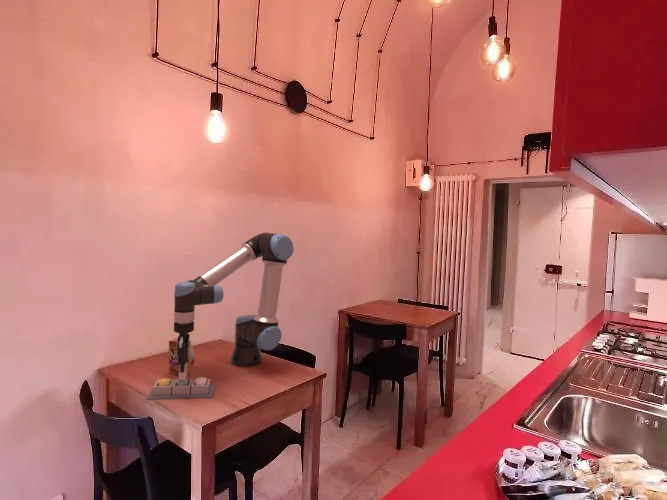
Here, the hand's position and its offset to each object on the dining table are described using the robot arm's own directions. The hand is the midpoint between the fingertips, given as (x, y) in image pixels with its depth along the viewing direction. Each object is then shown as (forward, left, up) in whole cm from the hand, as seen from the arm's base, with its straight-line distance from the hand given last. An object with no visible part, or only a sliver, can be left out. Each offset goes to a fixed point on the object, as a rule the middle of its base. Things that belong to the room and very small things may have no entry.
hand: (182, 378), depth 158 cm
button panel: (0, 0, -5) cm, 5 cm away
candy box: (+5, -19, -6) cm, 20 cm away
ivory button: (-7, 0, -4) cm, 8 cm away
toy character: (+6, -33, -6) cm, 34 cm away
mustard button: (+7, 0, -4) cm, 8 cm away
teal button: (0, 0, -4) cm, 4 cm away
